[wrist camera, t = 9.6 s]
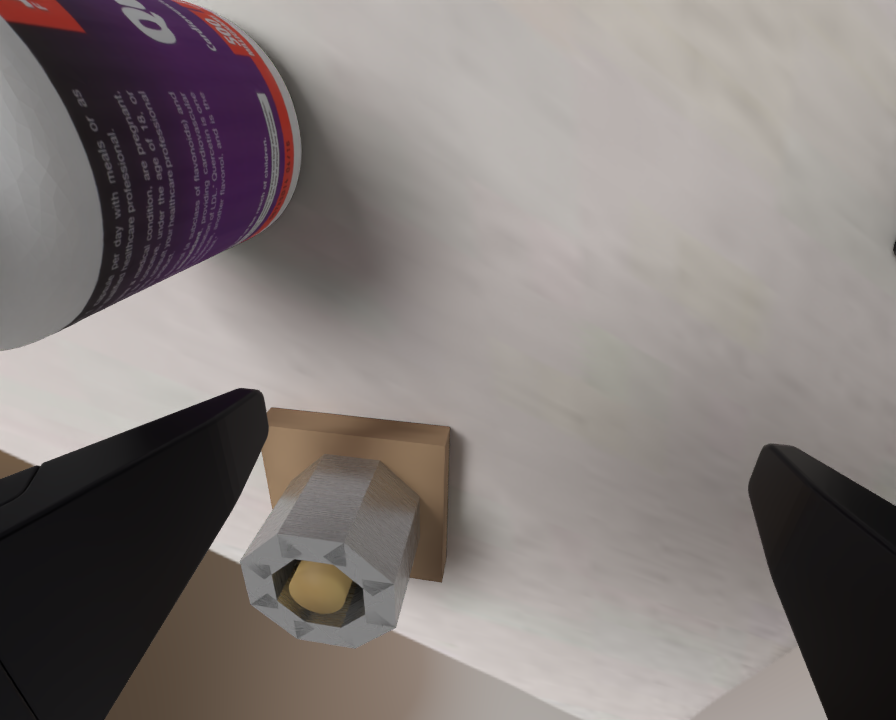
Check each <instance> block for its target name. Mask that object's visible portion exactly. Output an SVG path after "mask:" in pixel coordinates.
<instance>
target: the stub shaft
mask: <svg viewBox="0 0 896 720" xmlns="http://www.w3.org/2000/svg"><path fill="white" fill-rule="evenodd" d="M267 418H268V424H269V432H268V437H267V439H266V442H265V444H264V446H263V448H262V450H261V451H262V456H263V461H264V467H265V472H266V477H267V483H268V488H269V493H270V499H271V504H272V509H273V508H274V507H275V505H276V504H277V502H278V501H279V499H280V498H281V496H282V494H283V493H284V491H285V490H286V488H287V487H288V485H289V484H290V482H291V480H293V479H294V478H295V477H296V476H298V475H299V474H300V473H301V472H303V471H304V470H305V469H306V468H308V467H309V466H310V465H311V464H313V463H314V462H315V461H316V460H318V459H319V458H320V457H321V456H323V455H324V454H330V455H339V456H347V457H356V458H364V459H373V460H380V461H381V462H382V463H383V464H384V465H386V466H387V467H388V468H389V469H390V470H391V471H392V472H393V473H394V474H396V475H397V476H398V477H399V478H400V479H401V480H402V481H403V482H404V483H406V484H407V485H408V486H409V487H410V488H411V489H412V490H413V491H415V492H416V493H417V494H418V495H419V496H420V539H419V543H418V547H417V551H416V554H415V558H414V562H413V566H412V569H411V573H410V577H409V578H416V579H422V580H429V581H436V582H442V578H443V573H444V568H445V563H446V546H447V511H448V476H449V442H450V427H445V426H436V425H427V424H418V423H409V422H399V421H390V420H381V419H372V418H363V417H354V416H344V415H335V414H326V413H317V412H308V411H298V410H289V409H280V408H271V409H270V410H269V411H268V412H267ZM352 581H353V580H352V579H350V578H349V577H348V576H347V575H345V574H344V573H343V572H342V571H340V570H339V569H338V568H337V567H335V566H334V565H332V564H325V563H318V562H311V561H304V560H301V562H300V564H299V566H298V568H297V570H296V572H295V574H294V576H293V578H292V580H291V582H290V584H289V591H290V594H291V596H292V598H293V599H294V600H295V601H296V602H297V603H298V604H299V605H301V606H302V607H304V608H305V609H308V610H310V611H313V612H316V613H322V614H329V613H334V612H336V611H338V610H340V609H341V608H342V607H343V605H344V602H345V599H346V597H347V594H348V592H349V589H350V586H351V584H352Z"/></svg>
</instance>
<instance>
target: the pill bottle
mask: <svg viewBox="0 0 896 720" xmlns="http://www.w3.org/2000/svg"><path fill="white" fill-rule="evenodd" d="M300 167H301V137H300V130H299V125H298V120H297V116H296V113H295V109H294V105H293V102H292V99H291V97H290V94H289V92H288V90H287V87H286V85H285V83H284V81H283V79H282V77H281V76H280V74H279V72H278V71H277V69H276V67H275V66H274V64H273V63H272V61H271V60H270V59H269V57H268V56H267V55H266V54H265V52H264V51H263V50H262V49H261V48H260V47H259V46H258V44H257V43H256V42H255V41H254V40H253V39H252V38H250V37H249V36H248V35H247V34H246V33H245V32H244V31H243V30H241V29H240V28H239V27H238V26H236V25H235V24H233V23H232V22H230V21H229V20H227V19H226V18H224V17H222V16H220V15H219V14H217V13H215V12H213V11H211V10H209V9H206V8H203V7H201V6H197V5H194V4H191V3H188V2H185V1H181V0H0V351H4V350H10V349H14V348H19V347H22V346H25V345H28V344H31V343H34V342H36V341H39V340H41V339H43V338H45V337H47V336H50V335H52V334H54V333H57V332H59V331H61V330H62V329H64V328H67V327H69V326H71V325H73V324H75V323H77V322H78V321H80V320H82V319H84V318H86V317H88V316H90V315H92V314H94V313H96V312H99V311H101V310H103V309H105V308H107V307H109V306H111V305H113V304H115V303H117V302H119V301H121V300H123V299H125V298H127V297H129V296H131V295H133V294H135V293H138V292H140V291H142V290H144V289H146V288H148V287H150V286H152V285H154V284H156V283H158V282H160V281H162V280H164V279H166V278H168V277H170V276H173V275H175V274H177V273H179V272H181V271H183V270H185V269H187V268H189V267H191V266H194V265H196V264H198V263H200V262H202V261H204V260H206V259H208V258H210V257H212V256H214V255H216V254H218V253H220V252H222V251H224V250H227V249H229V248H231V247H233V246H235V245H238V244H240V243H242V242H244V241H246V240H248V239H250V238H252V237H253V236H255V235H257V234H259V233H261V232H262V231H264V230H265V229H266V228H268V227H269V226H270V225H271V224H272V223H274V222H275V221H276V220H277V219H278V218H279V216H280V215H281V214H282V212H283V211H284V210H285V208H286V207H287V205H288V203H289V202H290V200H291V198H292V196H293V193H294V191H295V188H296V185H297V182H298V177H299V173H300Z"/></svg>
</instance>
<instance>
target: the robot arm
mask: <svg viewBox="0 0 896 720" xmlns="http://www.w3.org/2000/svg"><path fill="white" fill-rule="evenodd" d="M893 251H894V254H895V255H896V242H895V244H894V249H893ZM268 432H269V424H268V418H267V412H266V406H265V401H264V396H263V394H262V392H260V391H259V390H255V389H246V388H238V389H235V390H233V391H230V392H227V393H225V394H222V395H220V396H217V397H214V398H212V399H209V400H207V401H204V402H201V403H199V404H196V405H193V406H191V407H188V408H186V409H183V410H180V411H178V412H175V413H173V414H170V415H167V416H165V417H162V418H159V419H157V420H154V421H152V422H149V423H146V424H144V425H141V426H139V427H136V428H133V429H131V430H128V431H125V432H123V433H120V434H118V435H115V436H112V437H110V438H107V439H105V440H102V441H99V442H97V443H94V444H91V445H89V446H86V447H84V448H81V449H78V450H76V451H73V452H71V453H68V454H65V455H63V456H60V457H57V458H55V459H52V460H50V461H47V462H44V463H43V464H42V465H41V466H34V467H31V468H29V469H26V470H23V471H21V472H18V473H15V474H13V475H10V476H8V477H5V478H2V479H0V720H104V719H105V718H106V716H107V714H108V713H109V711H110V709H111V708H112V706H113V705H114V703H115V701H116V700H117V698H118V696H119V695H120V693H121V691H122V690H123V688H124V687H125V685H126V683H127V682H128V680H129V678H130V677H131V675H132V673H133V672H134V670H135V669H136V667H137V665H138V664H139V662H140V660H141V659H142V657H143V656H144V654H145V652H146V650H147V649H148V647H149V646H150V644H151V642H152V641H153V639H154V638H155V636H156V634H157V632H158V630H159V629H160V628H161V626H162V624H163V623H164V621H165V620H166V618H167V616H168V615H169V613H170V611H171V610H172V608H173V606H174V605H175V603H176V602H177V600H178V598H179V597H180V595H181V593H182V592H183V590H184V588H185V587H186V585H187V584H188V582H189V580H190V579H191V577H192V575H193V574H194V572H195V570H196V569H197V567H198V565H199V564H200V562H201V561H202V559H203V557H204V556H205V554H206V552H207V551H208V549H209V548H210V546H211V544H212V543H213V541H214V539H215V538H216V536H217V534H218V533H219V531H220V530H221V528H222V526H223V525H224V523H225V521H226V520H227V518H228V516H229V515H230V513H231V511H232V510H233V508H234V506H235V504H236V502H237V501H238V499H239V497H240V495H241V493H242V491H243V488H244V486H245V484H246V482H247V480H248V478H249V476H250V473H251V471H252V469H253V467H254V465H255V463H256V461H257V459H258V456H259V454H260V452H261V450H262V448H263V446H264V444H265V442H266V439H267V437H268ZM748 492H749V498H750V501H751V505H752V509H753V512H754V516H755V520H756V523H757V527H758V531H759V534H760V538H761V542H762V545H763V549H764V553H765V557H766V560H767V564H768V567H769V570H770V574H771V577H772V580H773V582H774V585H775V588H776V590H777V593H778V595H779V598H780V600H781V603H782V605H783V608H784V610H785V613H786V616H787V618H788V621H789V623H790V626H791V628H792V631H793V633H794V636H795V638H796V641H797V643H798V646H799V648H800V650H801V653H802V656H803V658H804V661H805V663H806V666H807V668H808V671H809V673H810V676H811V678H812V681H813V683H814V685H815V688H816V691H817V693H818V696H819V698H820V701H821V703H822V706H823V708H824V711H825V713H826V716H827V718H828V720H896V506H895V505H893V504H891V503H890V502H888V501H886V500H885V499H883V498H881V497H879V496H878V495H876V494H874V493H873V492H871V491H869V490H868V489H866V488H864V487H862V486H861V485H859V484H857V483H856V482H854V481H852V480H851V479H849V478H847V477H845V476H844V475H842V474H840V473H839V472H837V471H835V470H834V469H832V468H830V467H829V466H827V465H825V464H823V463H822V462H820V461H818V460H817V459H815V458H813V457H812V456H810V455H808V454H806V453H805V452H803V451H801V450H800V449H798V448H796V447H794V446H790V445H780V444H767V445H765V446H764V447H763V448H762V450H761V452H760V454H759V457H758V460H757V462H756V465H755V467H754V470H753V472H752V475H751V478H750V480H749V485H748Z"/></svg>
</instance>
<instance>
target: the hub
mask: <svg viewBox="0 0 896 720" xmlns="http://www.w3.org/2000/svg"><path fill="white" fill-rule="evenodd" d="M419 539H420V496H419V495H418V494H417V493H416V492H415V491H413V490H412V489H411V488H410V487H409V486H408V485H407V484H406V483H404V482H403V481H402V480H401V479H400V478H399V477H398V476H397V475H396V474H394V473H393V472H392V471H391V470H390V469H389V468H388V467H387V466H386V465H384V464H383V463H382V462H381V461H380V460H373V459H364V458H356V457H347V456H339V455H330V454H324V455H323V456H321V457H320V458H319V459H318V460H316V461H315V462H314V463H313V464H311V465H310V466H309V467H308V468H306V469H305V470H304V471H303V472H301V473H300V474H299V475H298V476H296V477H295V478H294V479H293V480H291V482H290V484H289V485H288V487H287V488H286V490H285V491H284V493H283V494H282V496H281V498H280V499H279V501H278V502H277V504H276V505H275V507H274V508H273V510H272V512H271V513H270V515H269V516H268V518H267V519H266V521H265V523H264V524H263V526H262V527H261V529H260V530H259V532H258V533H257V535H256V537H255V538H254V540H253V541H252V543H251V544H250V546H249V547H248V549H247V551H246V552H245V554H244V555H243V557H242V558H241V560H240V564H241V567H242V572H243V576H244V580H245V584H246V588H247V592H248V596H249V600H250V604H251V605H252V606H253V607H255V608H256V609H258V610H259V611H260V612H262V613H263V614H264V615H266V616H267V617H268V618H270V619H271V620H272V621H274V622H275V623H277V624H278V625H279V626H281V627H282V628H283V629H285V630H286V631H287V632H289V633H290V634H291V635H293V636H294V637H295V638H297V639H301V640H307V641H313V642H319V643H325V644H331V645H337V646H343V647H349V648H357V647H359V646H361V645H363V644H365V643H367V642H369V641H371V640H373V639H375V638H377V637H379V636H381V635H383V634H385V633H387V632H389V631H391V630H393V629H395V628H396V626H397V622H398V618H399V615H400V611H401V607H402V603H403V600H404V596H405V592H406V588H407V584H408V581H409V577H410V573H411V569H412V566H413V562H414V558H415V554H416V551H417V547H418V543H419ZM301 560H304V561H311V562H318V563H325V564H332V565H334V566H335V567H337V568H338V569H339V570H340V571H342V572H343V573H344V574H345V575H347V576H348V577H349V578H350V579H352V580H353V581H352V584H351V586H350V589H349V592H348V594H347V597H346V599H345V602H344V605H343V607H342V608H341V609H340V610H338V611H336V612H334V613H329V614H322V613H316V612H313V611H310V610H308V609H305V608H304V607H302V606H301V605H299V604H298V603H297V602H296V601H295V600H294V599H293V598H292V596H291V594H290V591H289V584H290V582H291V580H292V578H293V576H294V574H295V572H296V570H297V568H298V566H299V564H300V562H301Z"/></svg>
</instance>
